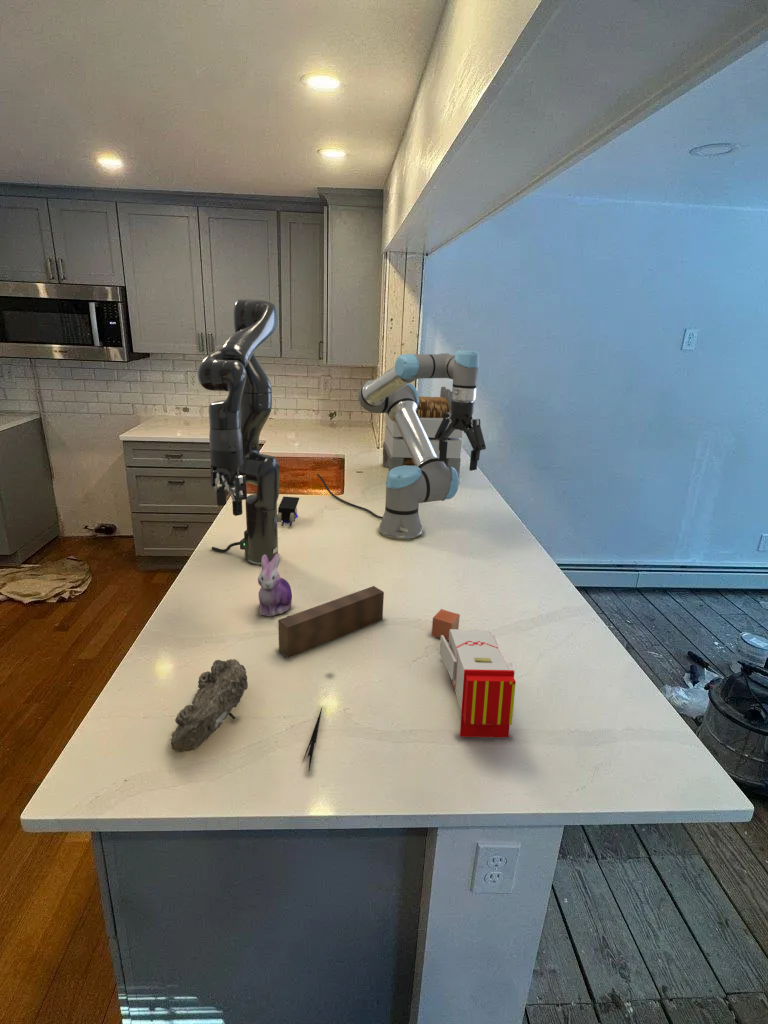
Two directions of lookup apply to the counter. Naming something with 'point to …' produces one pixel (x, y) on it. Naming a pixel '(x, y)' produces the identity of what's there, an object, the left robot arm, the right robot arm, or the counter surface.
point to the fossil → (210, 704)
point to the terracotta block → (444, 623)
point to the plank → (329, 621)
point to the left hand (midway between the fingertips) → (229, 509)
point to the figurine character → (287, 510)
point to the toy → (479, 682)
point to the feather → (313, 740)
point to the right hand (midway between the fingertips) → (457, 465)
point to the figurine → (273, 588)
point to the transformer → (430, 418)
